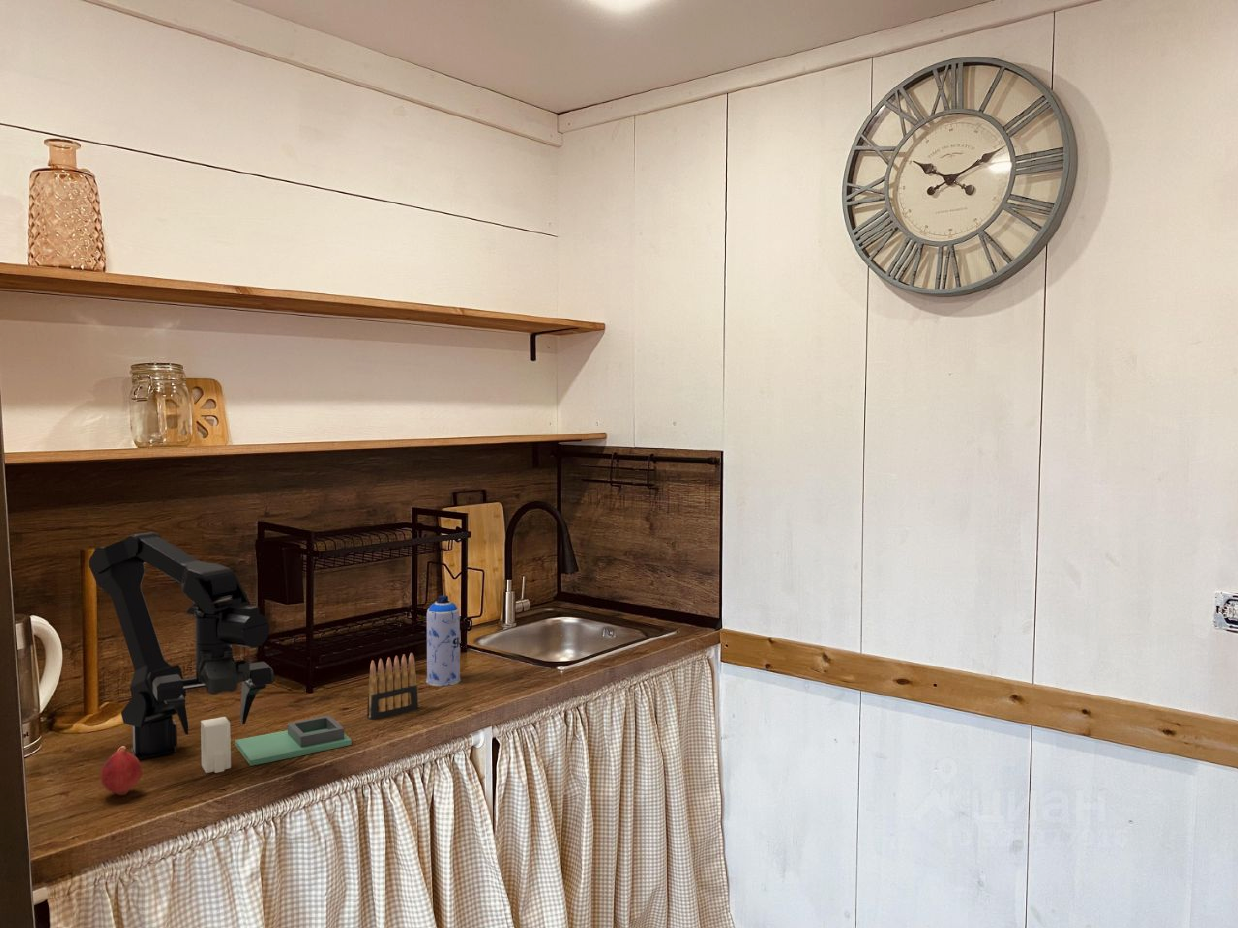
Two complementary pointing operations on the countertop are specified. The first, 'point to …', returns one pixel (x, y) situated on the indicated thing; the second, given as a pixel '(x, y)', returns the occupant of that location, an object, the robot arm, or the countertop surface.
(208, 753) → the plug
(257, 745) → the board
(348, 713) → the countertop surface
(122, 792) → the onion
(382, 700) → the ammunition clip
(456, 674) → the aerosol can
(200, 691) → the countertop surface
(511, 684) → the countertop surface
